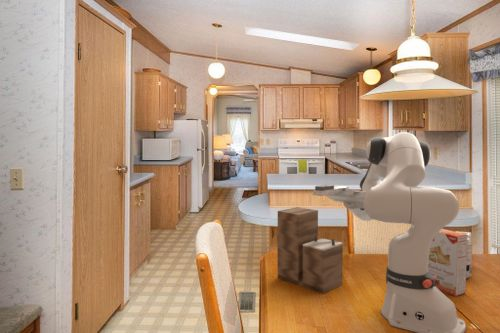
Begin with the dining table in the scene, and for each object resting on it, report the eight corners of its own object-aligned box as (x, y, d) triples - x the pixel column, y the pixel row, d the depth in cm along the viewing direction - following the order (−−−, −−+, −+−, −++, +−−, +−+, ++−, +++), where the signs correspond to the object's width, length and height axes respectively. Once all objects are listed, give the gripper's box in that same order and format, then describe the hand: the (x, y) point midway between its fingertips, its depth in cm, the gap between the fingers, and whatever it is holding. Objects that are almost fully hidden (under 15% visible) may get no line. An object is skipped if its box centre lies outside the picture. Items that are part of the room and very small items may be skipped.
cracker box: (419, 283, 138) (420, 227, 137) (430, 280, 141) (431, 225, 140) (455, 297, 126) (457, 235, 124) (466, 293, 128) (468, 233, 127)
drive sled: (348, 191, 162) (348, 183, 161) (321, 196, 148) (321, 187, 148) (340, 190, 165) (340, 182, 164) (313, 195, 151) (313, 186, 150)
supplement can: (449, 278, 143) (450, 239, 142) (444, 271, 151) (445, 234, 150) (473, 280, 141) (474, 241, 140) (467, 273, 149) (468, 235, 148)
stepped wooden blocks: (342, 284, 137) (343, 214, 136) (323, 293, 129) (324, 219, 127) (297, 270, 152) (297, 207, 150) (277, 278, 144) (277, 211, 142)
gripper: (336, 193, 178) (321, 180, 169) (376, 197, 163) (363, 183, 154) (332, 205, 176) (317, 192, 167) (372, 210, 161) (359, 197, 152)
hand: (339, 188), depth 160 cm, fingers closed on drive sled, 4 cm apart
